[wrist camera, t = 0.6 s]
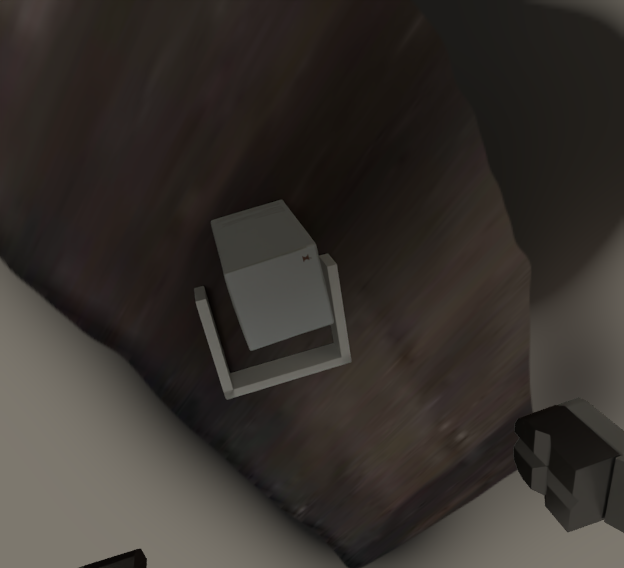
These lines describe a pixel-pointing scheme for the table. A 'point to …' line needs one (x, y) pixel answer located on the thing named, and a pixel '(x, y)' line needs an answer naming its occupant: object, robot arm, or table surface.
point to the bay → (286, 366)
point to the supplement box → (271, 274)
